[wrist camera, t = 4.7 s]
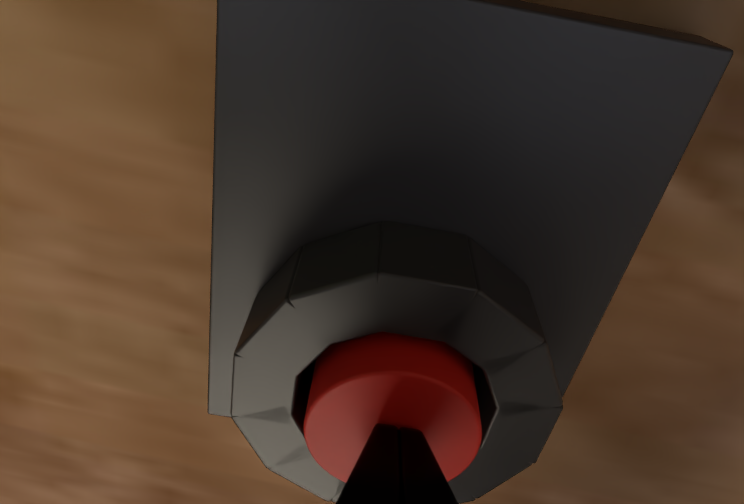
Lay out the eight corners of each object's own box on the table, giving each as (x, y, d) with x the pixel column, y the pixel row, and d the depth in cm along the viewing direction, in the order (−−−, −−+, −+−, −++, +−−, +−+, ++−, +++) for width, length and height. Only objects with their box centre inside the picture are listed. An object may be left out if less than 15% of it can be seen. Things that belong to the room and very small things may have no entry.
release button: (450, 433, 12) (457, 506, 11) (308, 411, 12) (294, 480, 11) (491, 322, 11) (505, 390, 9) (326, 295, 10) (314, 358, 9)
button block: (520, 428, 15) (545, 535, 12) (220, 380, 14) (181, 481, 12) (700, 36, 10) (809, 80, 7) (237, -56, 9) (173, -44, 7)
